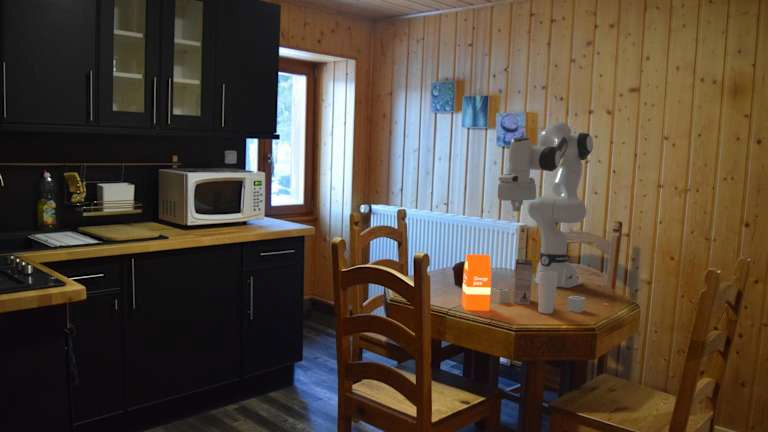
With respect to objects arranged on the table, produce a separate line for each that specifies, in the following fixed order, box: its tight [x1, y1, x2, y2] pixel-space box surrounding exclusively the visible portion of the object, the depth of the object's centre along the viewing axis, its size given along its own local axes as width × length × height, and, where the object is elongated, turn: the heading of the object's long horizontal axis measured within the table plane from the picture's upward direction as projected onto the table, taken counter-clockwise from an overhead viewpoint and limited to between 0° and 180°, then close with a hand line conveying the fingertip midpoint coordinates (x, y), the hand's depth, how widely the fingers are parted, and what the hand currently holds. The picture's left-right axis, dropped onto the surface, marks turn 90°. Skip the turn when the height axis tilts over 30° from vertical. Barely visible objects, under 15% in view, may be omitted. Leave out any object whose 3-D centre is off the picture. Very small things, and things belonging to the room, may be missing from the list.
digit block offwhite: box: [566, 295, 586, 314], centre depth 243 cm, size 5×5×5 cm
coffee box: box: [513, 258, 533, 305], centre depth 254 cm, size 9×6×16 cm
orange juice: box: [461, 253, 492, 312], centre depth 240 cm, size 8×9×20 cm
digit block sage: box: [490, 287, 511, 305], centre depth 253 cm, size 5×5×5 cm
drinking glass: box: [537, 271, 558, 315], centre depth 238 cm, size 7×7×15 cm
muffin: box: [451, 260, 466, 288], centre depth 282 cm, size 12×11×10 cm
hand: (516, 211), depth 265 cm, fingers closed
